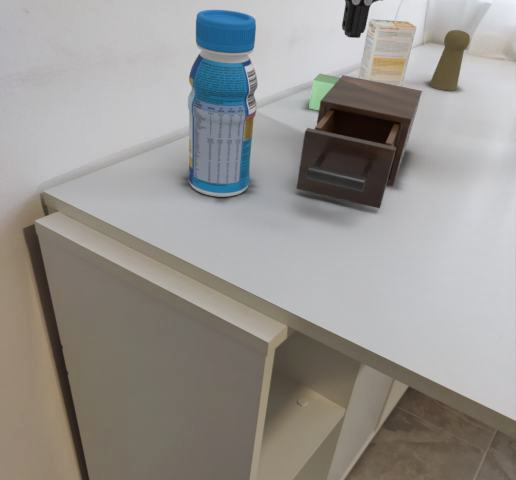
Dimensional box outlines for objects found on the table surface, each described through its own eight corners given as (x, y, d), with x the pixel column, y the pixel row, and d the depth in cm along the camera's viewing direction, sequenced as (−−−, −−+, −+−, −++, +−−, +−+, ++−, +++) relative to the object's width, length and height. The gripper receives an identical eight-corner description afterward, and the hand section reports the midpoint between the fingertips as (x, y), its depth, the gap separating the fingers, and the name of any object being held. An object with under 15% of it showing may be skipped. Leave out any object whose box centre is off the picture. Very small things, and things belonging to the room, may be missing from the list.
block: (315, 101, 104) (319, 73, 101) (340, 106, 103) (345, 78, 100) (308, 108, 100) (312, 80, 97) (334, 113, 99) (339, 85, 96)
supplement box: (391, 91, 114) (408, 20, 105) (399, 98, 110) (417, 26, 102) (354, 89, 112) (369, 17, 104) (361, 97, 109) (377, 23, 100)
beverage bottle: (205, 203, 68) (210, 25, 55) (176, 176, 73) (175, 7, 60) (261, 192, 72) (278, 23, 59) (230, 167, 77) (239, 6, 64)
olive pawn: (455, 92, 118) (473, 36, 110) (427, 87, 119) (443, 31, 112) (457, 85, 122) (475, 31, 115) (431, 80, 123) (446, 26, 116)
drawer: (372, 228, 66) (388, 167, 61) (284, 206, 68) (292, 146, 63) (393, 170, 80) (408, 117, 75) (320, 154, 82) (329, 101, 77)
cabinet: (392, 186, 78) (411, 118, 71) (309, 167, 80) (320, 100, 74) (405, 152, 88) (422, 90, 82) (331, 136, 91) (342, 75, 84)
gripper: (419, -131, 65) (383, 31, 76) (317, -145, 61) (296, 27, 73) (451, -129, 59) (408, 45, 71) (342, -144, 56) (315, 41, 67)
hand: (351, 36), depth 72 cm, fingers closed
